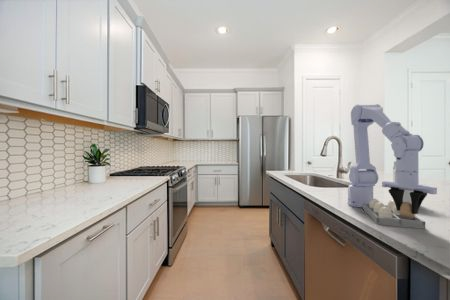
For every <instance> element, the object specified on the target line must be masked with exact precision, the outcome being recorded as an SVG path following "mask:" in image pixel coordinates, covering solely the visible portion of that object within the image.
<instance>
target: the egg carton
mask: <svg viewBox="0 0 450 300" xmlns="http://www.w3.org/2000/svg"><path fill="white" fill-rule="evenodd" d="M387 205H388V204H387ZM387 205H386V204H384V206H385V207H387ZM362 209H363V211H364V212H365V213H366V214H367V215H368V216H369V217H370V218H371V219H372V220H373V222H374V223H375V224H376V225H382V226H383V225H384V226H394V227H404V228H405V227H406V228H412V229H415V228H416V229H426V221H425V220H423V219H422V218H420V217H418V216H417V215H415V218H407V217H402V216H400V214H394V213H393V209H390V210H391V212H392V218H384V217H379V212H374V208H369V204H363V207H362Z"/></svg>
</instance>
